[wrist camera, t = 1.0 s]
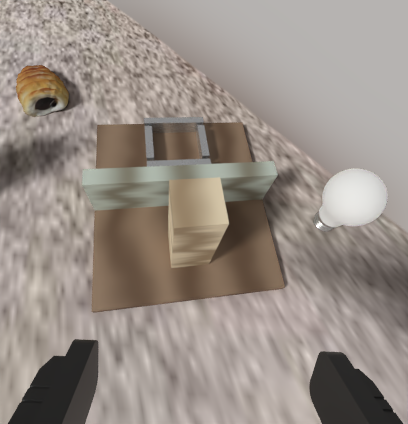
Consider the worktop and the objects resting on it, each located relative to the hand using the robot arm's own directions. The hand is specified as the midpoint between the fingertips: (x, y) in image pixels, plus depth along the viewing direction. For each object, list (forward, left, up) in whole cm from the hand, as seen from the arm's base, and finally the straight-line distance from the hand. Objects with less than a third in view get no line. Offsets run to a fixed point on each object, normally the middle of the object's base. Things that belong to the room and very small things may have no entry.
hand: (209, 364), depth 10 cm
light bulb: (-21, -13, -22) cm, 34 cm away
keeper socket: (-2, -26, -22) cm, 35 cm away
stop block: (-2, -11, -21) cm, 24 cm away
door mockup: (-2, -18, -22) cm, 29 cm away
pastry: (+17, -38, -23) cm, 48 cm away
